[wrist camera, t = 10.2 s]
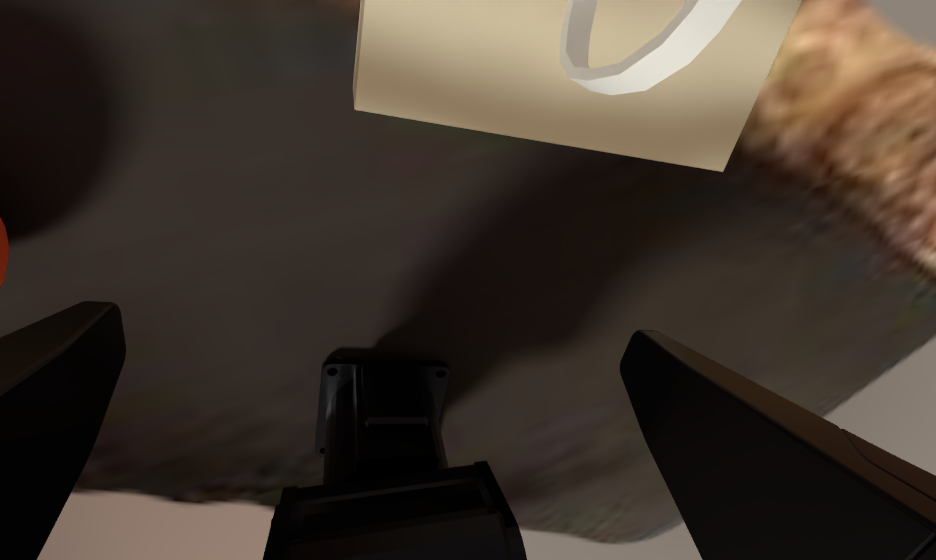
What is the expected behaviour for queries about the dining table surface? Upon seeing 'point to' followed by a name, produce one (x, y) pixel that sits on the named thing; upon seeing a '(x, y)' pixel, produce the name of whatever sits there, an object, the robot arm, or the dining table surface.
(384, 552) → the robot arm
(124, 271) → the dining table surface
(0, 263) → the clementine
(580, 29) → the cup
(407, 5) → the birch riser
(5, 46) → the dining table surface
